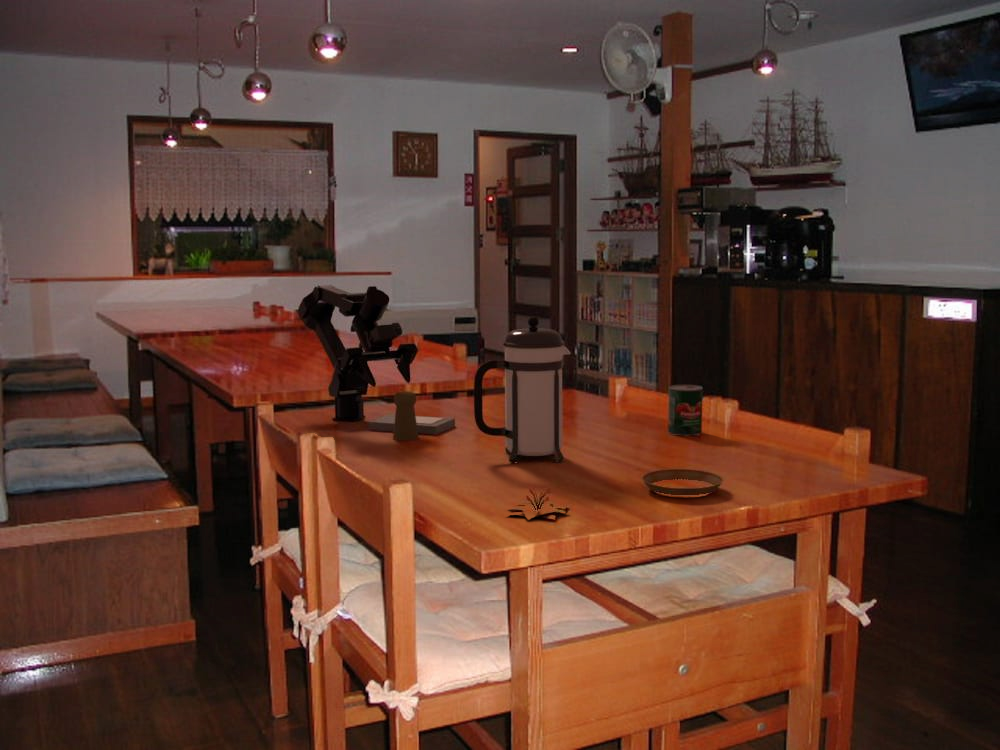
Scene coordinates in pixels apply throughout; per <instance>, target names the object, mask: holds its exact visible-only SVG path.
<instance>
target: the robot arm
mask: <svg viewBox="0 0 1000 750" xmlns="http://www.w3.org/2000/svg"><path fill="white" fill-rule="evenodd" d="M389 303H390V297H389V295H388V294H387V293H386V292H384V291H383V290H380V289H378V287H377V286H375V285H374V286H373V285H371V286H370V285H369V286H368V287H367V289H366V292H348V291H346V290H343V289H339V288H337V287H335V286H334V285H331V284H329V285H328V284H327V285H326V284H325V285H317V286H315V287H314V288H313V290H312V291H311V292H310V293H308V294H307V295H306V296H305V297H303V298H302V299H301V302H300V304H299V306H298V309H297V315H298V317H299V319H300V321H301V322H302V323H303V325H304V326H305V327H306V328H308V329H310V330H311V331H314V332H315V334H316V336H317V338H318V340H319V342H320V344H321V346H322V348H323V349H324V351H325V353H326V355H327V356H328V360H329V361H330V364H331V365H332V367H333V373H332V376H331V378H332V379H331V381H330V383H329V385H328V394H329V397H333V398H334V414H335V415H334V417H332V418H331V420H333V421H345V422H356V421H360V420H361V419H364V418H366V415H365V414H364V411H365V409H364V400H363V399H362V398H363V397H362V396H363V395H364V396H366V395H367V394H368V389H369V385H370V386H372V387H373V388H374V387H376V385H377V382H376V380H375V377H374V374H373V372H372V371H371V369H370V366H369V364H368V362H380V361H391V360H392V361H393V360H394V363H395V365H397V366H396V369H397V370H398V371H399V373H400V375H401V376H402V378H403V379H404V381H405V382H406V383H407V384H410V382H411V364H413V362H414V360H415V358H416V356H417V355H418V352H419V348H418V346H417V344H416V343H414V342H408V343H400V344H398V345H399V346H398V347H397V350H395V349H394V350H390V348H392V347H393V344H394V343H393V341H394V340H395V339H397V338H399V337H401V335H403V330H402V327H401V325H400V323H399V322H392V323H391V324H380V325H379V324H378V321H380V320H382V318H383V316H384V314H385V312H386V310H387V308H388V305H389ZM336 308H338V312H339V313H340V315H343V316H344V317H347V318H348V317H353V319H352V321H351V325H350V332H351V333H356V336H357V338H358V341H359V344H358V346H357V347H356V346H355V347H348V348H347V347H345V345H344V343H343V341H342V339H341V338H340V336H339V334H338V332H337V330H336V328H335V327H334V325H333V324H334V323H332V318H333V315H334V314H333V313H334V311H335V309H336Z"/></svg>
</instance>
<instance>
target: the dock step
mask: <svg viewBox="0 0 1000 750" xmlns="http://www.w3.org/2000/svg"><path fill="white" fill-rule="evenodd" d="M395 415H396V413H389V414H387V415H384V416H382V417H379V418H375V419H373V420H371V421H368V430H369V431H379V432H392V433H394V424H395ZM415 417H416V423H417V430H418V434H420V435H421V434H422V435H423V434H424V435H435V436H436V435H439V434H440V433H443V432H445V431H448V430H449V429H452V428H454V427H456V418H454V417H439V416H423V415H415Z"/></svg>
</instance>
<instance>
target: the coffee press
mask: <svg viewBox="0 0 1000 750" xmlns="http://www.w3.org/2000/svg"><path fill="white" fill-rule="evenodd" d="M539 322H540V320H539V319H538V318H537V317H536V316H530V317H529V318H528V320H527V324H528V326H529V327H527V328H524V327H523V328H517V329H513V330H512V331H509V332H508V333H507V334H506V335H505V339H504V340H503V341H502V346H503V349H504V358H503V360H499V359H498V360H496V359H491V360H488V361H484V362H483V363H482V364H481V365H480V366H478V368H477V370H476V372H475V375H474V379H473V411H474V415H473V416H474V421H475V424H476V426H477V428H478V429H479V431H481V432H482V433H483V434H485V435H488V436H494V437H505V453H506V454H508V453H509V457H508V462H509V463H511V462H512V463H511V464H516V463H515V462H517V463H519V461H520V459H521V458H522V457H525V456H527V457H540V456H541V457H542V456H550V457H551V458H552V459H553V460H554V462H555V461H558V462H557V463H560V461H561V462H563V461H564V459H565V458H564V455H563V453H562V451H561V448H562V447H563V368H564V358H563V356H564V355H571V351H570V350H569V349H568V347H566V345H565V340H562V336H561V334H560V333H559V332H557V331H556V330H555V329H551V328H543V327H537V326H538V325H539ZM499 368H500V369H501V368H504V399H505V400H504V403H505V407H504V409H505V411H504V412H505V413H504V414H505V418H504V419H505V426H503V427H502V426H501V427H492V426H490V425H487V424H486V423H485V421H484V418H483V417H484V415H483V414H484V413H483V379H484V377H485V375H486V373H488V371H490V370H493V369H499Z"/></svg>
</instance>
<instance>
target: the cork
mask: <svg viewBox="0 0 1000 750" xmlns="http://www.w3.org/2000/svg"><path fill="white" fill-rule="evenodd" d="M393 402H394V405H395V406H396V407H395V414H396V415H395V424H394V432H392V433H393V435H392V439H393V440H394V441H400V442H408V441H411V442H412V441H415V440H418V439H419V438H420V437H419V433H418V430H417V423H416V417H415V416H416V413H415V412H416V411H415V410H416V409H415V405H416V402H417V396H416V394H415V393H414V392H413V391H408V390H405V391H404V390H402V391H398V392H396V393H395V394H394V396H393Z"/></svg>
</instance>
